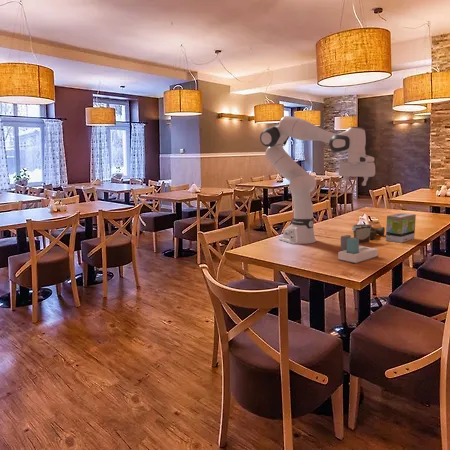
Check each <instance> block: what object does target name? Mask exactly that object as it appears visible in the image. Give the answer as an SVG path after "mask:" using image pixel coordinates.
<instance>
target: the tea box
mask: <svg viewBox="0 0 450 450" xmlns="http://www.w3.org/2000/svg"><path fill="white" fill-rule="evenodd" d="M416 219H417V217H416V214H413V213H406V212H405V213H404V212H399V213H393V214H389V215H388V214H387V216H386V225H385V226H386V228H385V241H388V242H393V243H400V244H401V243H405V242H407V241H411V239H412V240H414V239H415V237H416V236H415V234H416V233H415V232H416Z"/></svg>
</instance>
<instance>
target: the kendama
mask: <svg viewBox="0 0 450 450" xmlns="http://www.w3.org/2000/svg"><path fill="white" fill-rule="evenodd" d="M385 234H386V228H385V227H384V226H381V227H380V228H379V227H378V228H375V227H373V226H371V230H370V240H375V239H376V237H377V235H379V236H381V237H384V236H385ZM370 240H369V241H370Z"/></svg>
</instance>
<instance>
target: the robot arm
mask: <svg viewBox="0 0 450 450" xmlns="http://www.w3.org/2000/svg"><path fill="white" fill-rule="evenodd" d="M290 138H293V139H296V140H299V141H306V142H308V141H319V142H323V143H326V144H328V146H329V149H330V150H331V151H332V152H335V153H336V154H337V153H338V154H339V153H342V154H343V153H345V154H347V158H342V159H341V160H339V166H338V176H340V177H343V178H344V180H345V182H346V183H345V185H346V186H350V185H351V181H350V180H349V178H350V177H357V178H359V177H360V178H363V179H364V180H363V181H362V182H361V186H363V187H364V186H367V182H368V180H369V178H372V177H375V175H376V165H375V157H373V156H371V155H367V154H366V140H367V138H366V131H365V129H364V128H363V127H359V126H350V127H348V129H345V131H342V132H339V133H335V132H333V131H329V130H326V129H323V128H321V127H319V126H317V125H315V124H313V123H311V122H309V121H307V120H305V119H303V118H300V117H296V116H291V115H285V116H283V117H282V118H281V119H280V120H279V123H278V125H273V126H270V127H267V128H265V129H263V130H262V131H261V132H260V135H259V139H260V143H261V144H262V146H264V147H266V150H265V152H264V153H265V157H266V159H267V160H268V162H269V163H270V164H271V165H272V166H273V168H274V169H275V170H276V171H277V172H278V173H279V174H280V175H281V177H282V178H284V179H286V180H287V181H289V184H288V189H289V191H290V192H291V198H292V203H293V204H292V205H293V218H291V219H290V220H289V221H290V222H291V224H290V225H288V226H287V227H286V228H285V229H283V234H282V236H281V237H279V238H278V240H279V241H283V242H285V243H289V244H292V245H299V244H302V245H303V244H304V245H306V244H313V243H316V241H317V240H316V236H315V230H314V224H315V222H314V221H315V219H314V204H313V202H312V197H311V193H312V192H313V191H314V190H315V189H316V186H317V179H316V177H314V176H313V175H311V174H310V173H309V172H308V171H307V170H306V169H304V168H303V167H302V166H300V165H299V164H298V162H296V161H295V160H294V159H293V157H292V156H291V155H290V154H289V153H288V152H287V151H286V150H285V149H284V147H285V146H286V145H287V142H288V140H289V139H290Z"/></svg>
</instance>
